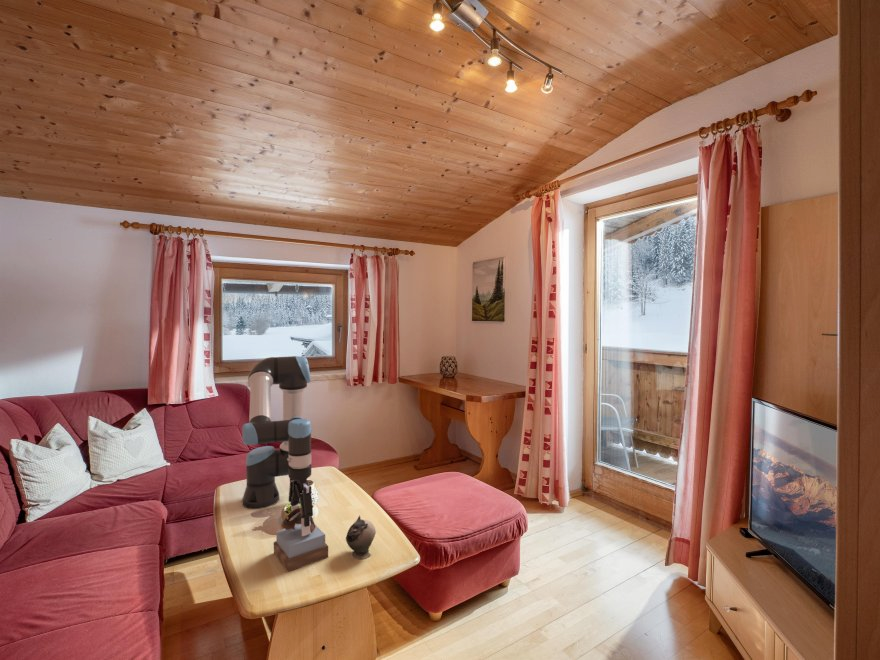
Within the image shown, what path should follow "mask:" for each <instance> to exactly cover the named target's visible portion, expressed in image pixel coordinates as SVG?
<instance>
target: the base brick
mask: <svg viewBox="0 0 880 660" xmlns="http://www.w3.org/2000/svg"><path fill="white" fill-rule="evenodd" d="M273 554H274V555H276V556H275V557H276V558H277V560H278V561H279V562H280V563H281V565H282V566H283V567H284V570H285V571H286V572H287V573H289V572H294V571H296V570H298V569H300V568H303V567H307V566H309V565H311V564H314V563H316V562H319V561H321V560H325V559H328V558H329V545H328V544H327V543H326V542H325V546H323V547H320V548H317V549H315V550H312V551H309V552H306V553H303V554H301V555H298V556H295V557H292V558H288V556H287V555H286V554H285V552H284V551H283V550H282V549H281V547H280V546H279V545H278V544H277V540H276V541H274V542H273Z"/></svg>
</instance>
